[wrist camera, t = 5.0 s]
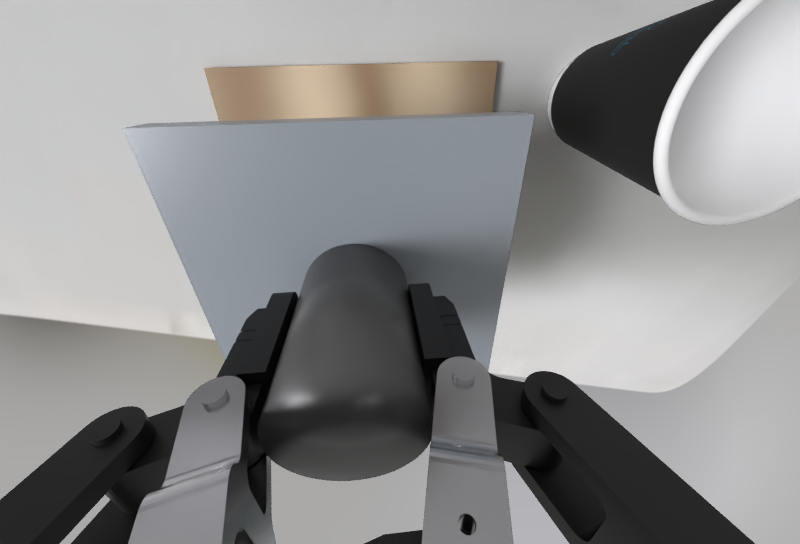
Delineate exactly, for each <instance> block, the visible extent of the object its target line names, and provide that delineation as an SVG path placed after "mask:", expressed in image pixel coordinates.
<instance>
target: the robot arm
mask: <svg viewBox="0 0 800 544" xmlns="http://www.w3.org/2000/svg"><path fill="white" fill-rule="evenodd" d="M408 293H409V298H410V304H411V309H412V314H413V319H414V324H415V329H416V334H417V340H418V345H419V350H420V355H421V360H422V365H423V370H424V375H425V378H426V382H427V387H428V392H429V398H430V403H431V408H432V413H433V426H432V438H431V445H430V455H429V466H428V478H427V488H426V500H425V511H424V522H423V530H419V531H410V532H402V533H394V534H385V535H382V536H380V537H378V538H376V539H373V540H371V541H369V542H367V543H365V544H513V535H512V526H511V516H510V508H509V498H508V489H507V480H506V471H505V465H504V461H507V462H511V463H512V465H513V466H514V468H515V469H516V470H517V472H518V473H519V475H520V476H521V477H522V479H523V480H524V481H525V483H526V484H527V485H528V487H529V488H530V490H531V491H532V492H533V494H534V495H535V497H536V498H537V499H538V501H539V502H540V504H541V505H542V506H543V508H544V509H545V510H546V512H547V513H548V514H549V516H550V517H551V519H552V520H553V521H554V523H555V524H556V525H557V527H558V528H559V530H560V531H561V532H562V534H563V535H564V537H566V539H567V541H568V542H569V543H570V544H755V543H754V542H753V541H751V540H750V539H749V538H748V537H747V536H745V534H743V533H742V532H741V531H740V530H739V529H738V528H737V527H736V526H734V525H733V524H732V523H731V522H730V521H729V520H728V519H727V518H725V517H724V516H723V515H722V514H721V513H720V512H719V511H717V510H716V509H715V508H714V507H713V506H712V505H711V504H709V503H708V502H707V501H706V500H705V499H704V498H703V497H702V496H701V495H699V494H698V493H697V492H696V491H695V490H694V489H692V487H690V486H689V485H688V484H687V483H686V482H685V481H684V480H683V479H681V478H680V477H679V476H678V475H677V474H676V473H675V472H673V471H672V470H671V469H670V468H669V467H668V466H667V465H666V464H664V463H663V462H662V461H661V460H660V459H659V458H658V457H656V456H655V455H654V454H653V453H652V452H651V451H649V449H648V448H646V447H645V446H644V445H643V444H642V443H641V442H640V441H638V440H637V439H636V438H635V437H634V436H633V435H632V434H631V433H629V432H628V431H627V430H626V429H625V428H624V427H623V426H622V425H620V424H619V423H618V422H617V421H616V420H615V419H614V418H613V417H611V416H610V415H609V414H608V413H607V412H606V411H605V410H603V409H602V408H601V407H600V406H599V405H598V404H597V403H596V402H594V401H593V400H592V399H591V398H590V397H588V395H587V394H585V393H584V392H583V391H582V390H581V389H580V388H578V387H577V386H576V385H575V384H574V383H573V382H572V381H570V380H569V379H567V378H566V377H564V376H562V375H559V374H557V373H553V372H547V371H540V372H535V373H532V374H531V375H529V376H528V377H527V379H526V381H525V382H519V381H514V380H508V379H504V378H500V377H497V376H494V375H492V374H490V373H489V372H488V371H487V369H486V368H485V367H484V366H483V365H482V364H481V363H479V362H478V361H476V359H475V357H474V355H473V352H472V349H471V347H470V344H469V342H468V339H467V337H466V334H465V331H464V329H463V326H462V325H461V321H460V319H459V317H458V313H457V311H456V308H455V306H454V304H453V303H452V302H451V301H450V300H449V299H448V298H447V297H446V296H434V297H433V294H432V290H431V287H430V284H429V283H420V284H409V285H408ZM297 301H298V295H297V293H296V292H283V293H273V294H272V295H271V297H270V300H269V302H268V304H267V306H266V308H260V309H257V310H256V311H255V312H253V313H252V314H251V315H250V316H249V317H248V318H247V319H246V321H245V323H244V325H243V327H242V329H241V333H239V334H238V336H237V338H236V342H234V344H233V346H232V348H231V350H230V352H229V354H228V356H227V358H226V360H225V362H224V364H223V366H222V368H221V370H220V372H219V374H218V376H217V378H215V379H212V380H210V381H208V382H206V383H204V384H203V385H201V386H200V387H198V388H197V389H196V390H195V391H194V392H193V393H192V394H191V395H190V396H189V398H188V399H187V401H186V403H185V405H183V406H181V407H178V408H175V409H173V410H169V411H166V412H164V413H160V414H157V415H154V416H152V417H147V415H146V414H145V412H144V411H143V410H142V409H141V408H138V407H133V406H132V407H122V408H119V409H116V410H113V411H110V412H108V413H106V414H104V415H102V416H100V417H99V418H97V419H95V420H94V421H92V422H91V423H90V424H89V425H87V426H86V427H85V428H84V429H82V430H81V431H80V432H79V433H78V434H77V435H75V436H74V437H73V438H72V439H71V440H70V441H68V442H67V443H66V444H65V445H64V446H63V447H62V448H60V449H59V450H58V451H57V452H56V453H55V454H53V455H52V456H51V457H50V458H49V459H47V460H46V461H45V462H44V463H43V464H42V465H40V466H39V467H38V468H37V469H36V470H35V471H34V472H32V473H31V474H30V475H29V476H28V477H27V478H25V479H24V480H23V481H22V482H21V483H20V484H18V485H17V486H16V487H15V488H14V489H13V490H11V491H10V492H9V493H8V494H7V495H6V496H4V497H3V498H2V499H1V500H0V544H59V543H60V542H61V541H62V540H63V539H64V538H65V537H66V536H67V535H68V534H69V533H70V532H71V531H72V529H73V528H74V527H75V526H76V525H77V524H78V523H79V522H80V521H81V520H82V519H83V517H85V515H86V514H87V513H88V512H89V511H90V510H91V509H92V508H93V507H94V506H95V505H96V504H97V503H98V501H99V500H100V499H101V498H102V497H103V496H104V495H106V496H107V497H109V499H111V500H110V501H109V502H108V503H107V504H106V506H105V507H104V508H103V509H102V510H101V511H100V512H99V513H98V514H97V515H96V516H95V518H94V519H93V520H92V521H91V522H90V523H89V524H88V525H87V526H86V528H85V529H84V530H83V531H82V532H81V533H80V534H79V535H78V536H77V537H76V539H75V540H74V541H73V542H72V543H71V544H276V541H275V535H274V531H273V525H272V514H271V459H270V458H269V457H268V456H267V455H266V453H265V452H264V451H263V449H262V447H261V446H260V443H259V440H258V435H257V429H258V423H259V420H260V417H261V414H262V410H263V407H264V404H265V401H266V398H267V395H268V392H269V389H270V385H271V382H272V379H273V376H274V373H275V370H276V367H277V363H278V360H279V357H280V354H281V351H282V348H283V345H284V342H285V338H286V335H287V332H288V329H289V326H290V323H291V320H292V316H293V313H294V310H295V307H296V304H297Z"/></svg>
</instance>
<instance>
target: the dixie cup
mask: <svg viewBox="0 0 800 544" xmlns="http://www.w3.org/2000/svg"><path fill="white" fill-rule="evenodd" d="M547 109H548V118H549V121H550V124H551V126H552V128H553V129H554V131H555V132H556V133H557V135H558V136H559V138H560V139H561V140H562V141H564V142H565V143H566V144H568V145H570V146H572V147H573V148H575V149H577V150H579V151H581V152H582V153H584V154H586V155H588V156H590V157H591V158H593V159H595V160H597V161H598V162H600V163H602V164H604V165H606V166H607V167H609V168H611V169H613V170H614V171H616V172H618V173H620V174H622V175H623V176H625V177H627V178H629V179H630V180H632V181H634V182H636V183H638V184H639V185H641V186H643V187H645V188H647V189H648V190H650V191H652V192H654V193H655V194H657V195H659V196H661V197H662V199H663V200H664V201H665V203H666V204H667V205H668V206H669V207H670V208H671V209H672V210H673V211H674V212H675V213H677V214H678V215H679V216H681V217H683V218H685V219H687V220H689V221H692V222H695V223H700V224H707V225H729V224H736V223H742V222H746V221H750V220H753V219H756V218H759V217H762V216H765V215H767V214H770V213H772V212H775V211H777V210H779V209H781V208H783V207H785V206H787V205H790V204H791V203H793V202H795V201H797V200H799V199H800V0H713V1H710V2H708V3H705V4H703V5H700V6H697V7H695V8H692V9H690V10H687V11H684V12H682V13H679V14H677V15H674V16H671V17H669V18H666V19H664V20H661V21H658V22H656V23H653V24H650V25H648V26H645V27H643V28H640V29H637V30H635V31H632V32H630V33H627V34H624V35H622V36H619V37H617V38H614V39H611V40H609V41H606V42H604V43H601V44H598V45H596V46H594V47H591V48H590V49H588V50H586V51H585V52H583V53H582V54H581V55H579V56H578V57H577V58H576V59H575V60H573V61H572V62H571V63H569V64H568V65H567V66H566V67H565V68H564V69H563V70H562V72H561V73H560V74H559V76H558V77H557V79H556V81H555V82H554V84H553V86H552V89H551V92H550V95H549V99H548V108H547Z"/></svg>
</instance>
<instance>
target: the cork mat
mask: <svg viewBox="0 0 800 544" xmlns="http://www.w3.org/2000/svg"><path fill="white" fill-rule="evenodd" d="M497 64H498V61H474V62H433V63H392V64H351V65H309V66H268V67H227V68H204V70H205V74H206V77H207V81H208V84H209V88H210V91H211V94H212V98H213V101H214V105H215V108H216V112H217V115H218V119H219V121H243V120H274V119H305V118H335V117H366V116H397V115H428V114H459V113H490V112H492V108H493V99H494V90H495V81H496V73H497Z"/></svg>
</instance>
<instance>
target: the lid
mask: <svg viewBox="0 0 800 544" xmlns="http://www.w3.org/2000/svg"><path fill="white" fill-rule="evenodd" d="M534 116H535V115H534V114H529V113H523V112H490V113H459V114H428V115H397V116H366V117H335V118H305V119H274V120H243V121H212V122H181V123H150V124H143V125H138V126H133V127H127V128H123V131H124V133H125V135H126V137H127V140H128V142H129V144H130V146H131V149H132V151H133V153H134V155H135V158H136V160H137V162H138V164H139V167H140V169H141V171H142V174H143V176H144V178H145V180H146V183H147V185H148V187H149V189H150V192H151V194H152V196H153V198H154V201H155V203H156V205H157V207H158V210H159V212H160V214H161V216H162V219H163V221H164V223H165V225H166V228H167V230H168V232H169V234H170V237H171V239H172V241H173V243H174V246H175V248H176V250H177V253H178V255H179V257H180V259H181V262H182V264H183V266H184V268H185V271H186V273H187V275H188V277H189V280H190V282H191V284H192V286H193V289H194V291H195V293H196V295H197V298H198V300H199V302H200V304H201V307H202V309H203V311H204V313H205V316H206V318H207V320H208V323H209V325H210V327H211V329H212V332H213V334H214V336H215V338H216V341H217V343H218V345H219V347H220V349H221V352H222V354H223V356H224V358H225V360H226V358H227V356H228V354H229V352H230V350H231V348H232V346H233V344H234V342H236V338H237V336H238V334H239V333H241V329H242V327H243V325H244V323H245V321H246V319H247V318H248V317H249V316H250V315H251V314H252V313H253V312H255V311H256V310H257V309H260V308H266V306H267V304H268V302H269V300H270V297H271V295H272V294H273V293H283V292H296V293H297V295H298V301H297V304H296V307H295V310H294V313H293V316H292V320H291V323H290V326H289V329H288V332H287V335H286V338H285V342H284V345H283V348H282V351H281V354H280V357H279V360H278V363H277V367H276V370H275V373H274V376H273V379H272V382H271V385H270V389H269V392H268V395H267V398H266V401H265V404H264V407H263V410H262V414H261V417H260V420H259V423H258V429H257V435H258V440H259V443H260V446H261V447H262V449H263V451H264V452H265V453H266V455H267V456H268V457H269V458H270V459H271V460H273V461H274V462H275V463H276V464H278V465H280V466H281V467H283V468H285V469H287V470H289V471H291V472H294V473H296V474H299V475H302V476H306V477H310V478H315V479H321V480H330V481H351V480H361V479H367V478H372V477H377V476H380V475H384V474H387V473H390V472H392V471H395V470H397V469H399V468H401V467H403V466H405V465H406V464H408V463H410V462H412V461H413V460H414V459H416V458H417V457H418V456H419V455H420V454H421V453H422V452H423V451H424V450H425V449H426V448H427V446H428V445H429V443H430V441H431V438H432V426H433V413H432V408H431V403H430V398H429V392H428V387H427V382H426V378H425V375H424V370H423V365H422V360H421V355H420V350H419V345H418V340H417V334H416V329H415V324H414V319H413V314H412V309H411V304H410V298H409V293H408V285H409V284H420V283H429V284H430V287H431V290H432V294H433V297H434V296H446V297H447V298H448V299H449V300H450V301H451V302H452V303H453V304H454V306H455V308H456V311H457V313H458V317H459V319H460V321H461V325H462V326H463V329H464V331H465V334H466V337H467V339H468V342H469V344H470V347H471V349H472V352H473V355H474V357H475V359H476V361H478V362H479V363H481V364H482V365H483V366H484V367H485V368H486V369H487V371H488V369H489V363H490V358H491V352H492V347H493V341H494V336H495V330H496V325H497V319H498V314H499V308H500V303H501V297H502V292H503V286H504V281H505V275H506V270H507V264H508V259H509V253H510V248H511V242H512V237H513V231H514V226H515V220H516V215H517V209H518V204H519V198H520V193H521V187H522V182H523V176H524V171H525V165H526V160H527V154H528V149H529V143H530V138H531V132H532V127H533V121H534Z"/></svg>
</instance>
